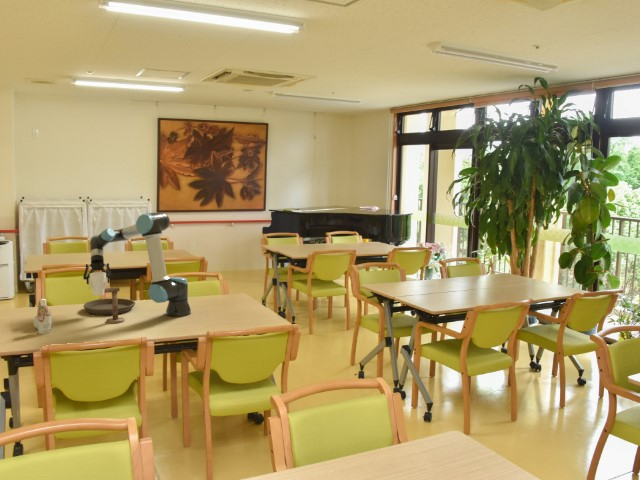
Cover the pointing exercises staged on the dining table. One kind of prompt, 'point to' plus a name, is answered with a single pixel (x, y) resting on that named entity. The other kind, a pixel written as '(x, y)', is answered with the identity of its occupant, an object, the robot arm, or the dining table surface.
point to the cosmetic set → (42, 318)
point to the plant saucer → (108, 306)
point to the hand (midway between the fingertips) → (98, 287)
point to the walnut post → (114, 306)
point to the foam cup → (98, 282)
